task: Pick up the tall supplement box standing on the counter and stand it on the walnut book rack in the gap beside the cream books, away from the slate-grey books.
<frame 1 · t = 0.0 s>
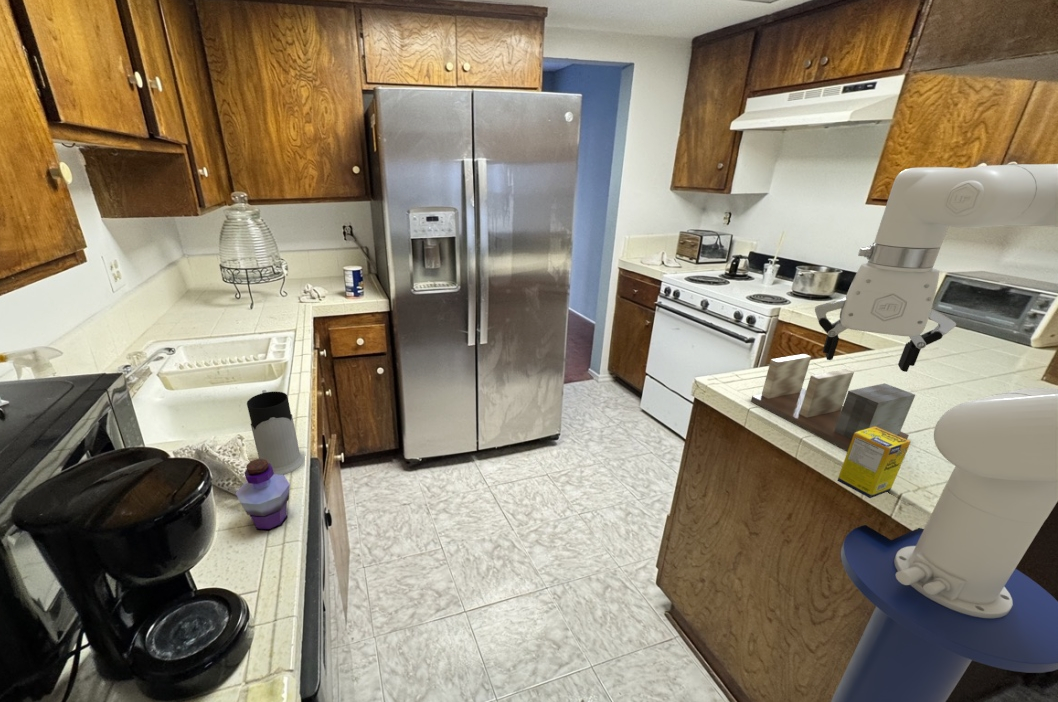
hand: (864, 362, 77), 26 cm above the counter, tool pointing down, fingers open, 9 cm apart
potion bottle: (271, 521, 82), on the counter
book rack: (822, 419, 111), on the counter
supplement box: (862, 486, 88), on the counter
glass holder: (279, 457, 100), on the counter
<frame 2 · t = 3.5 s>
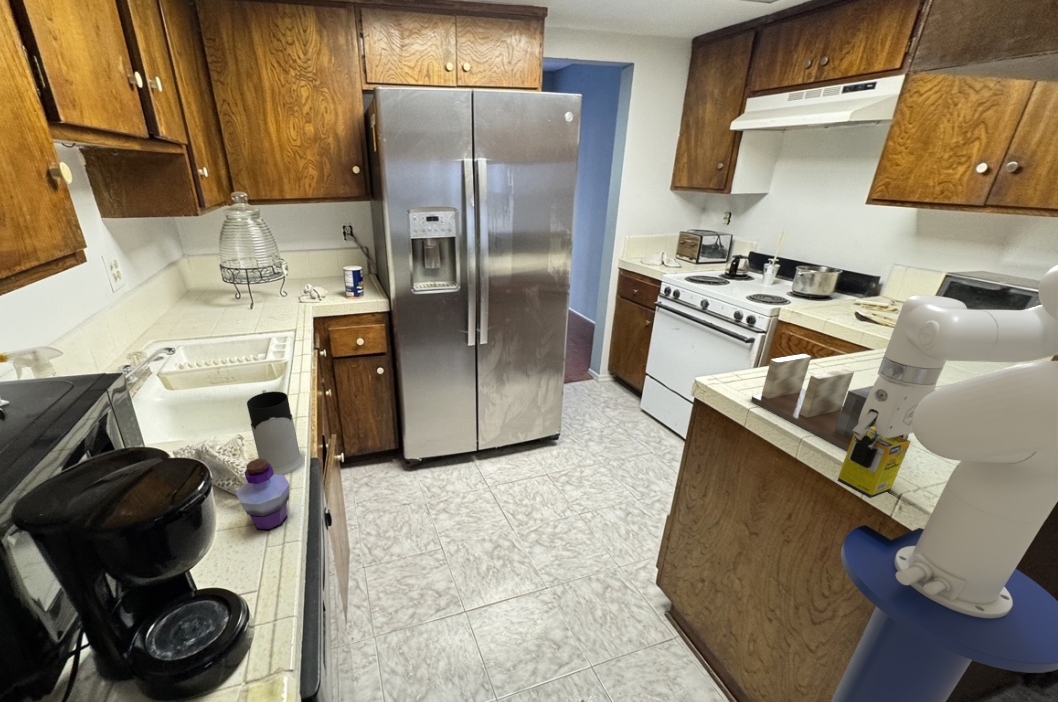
hand: (873, 459, 86), 6 cm above the counter, tool pointing down, fingers closed on supplement box, 6 cm apart
supplement box: (862, 486, 88), on the counter, touching gripper
everything else where it was.
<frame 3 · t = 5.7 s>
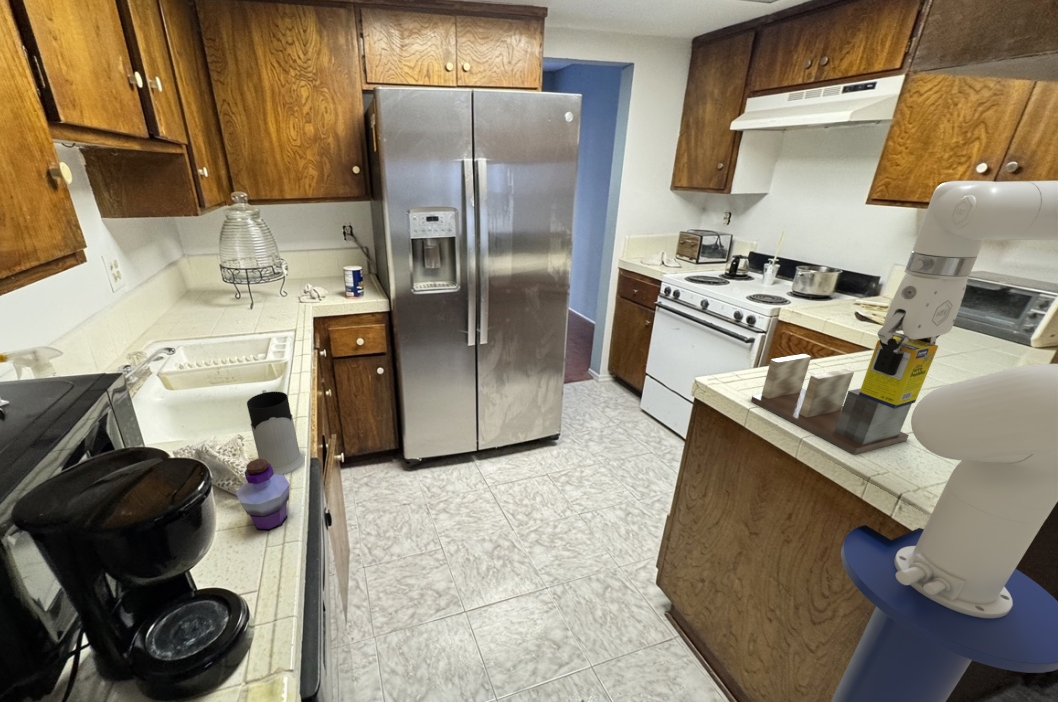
hand: (897, 368, 81), 23 cm above the counter, tool pointing down, fingers closed on supplement box, 6 cm apart
supplement box: (885, 400, 84), point 17 cm above the counter, touching gripper
everything else where it was.
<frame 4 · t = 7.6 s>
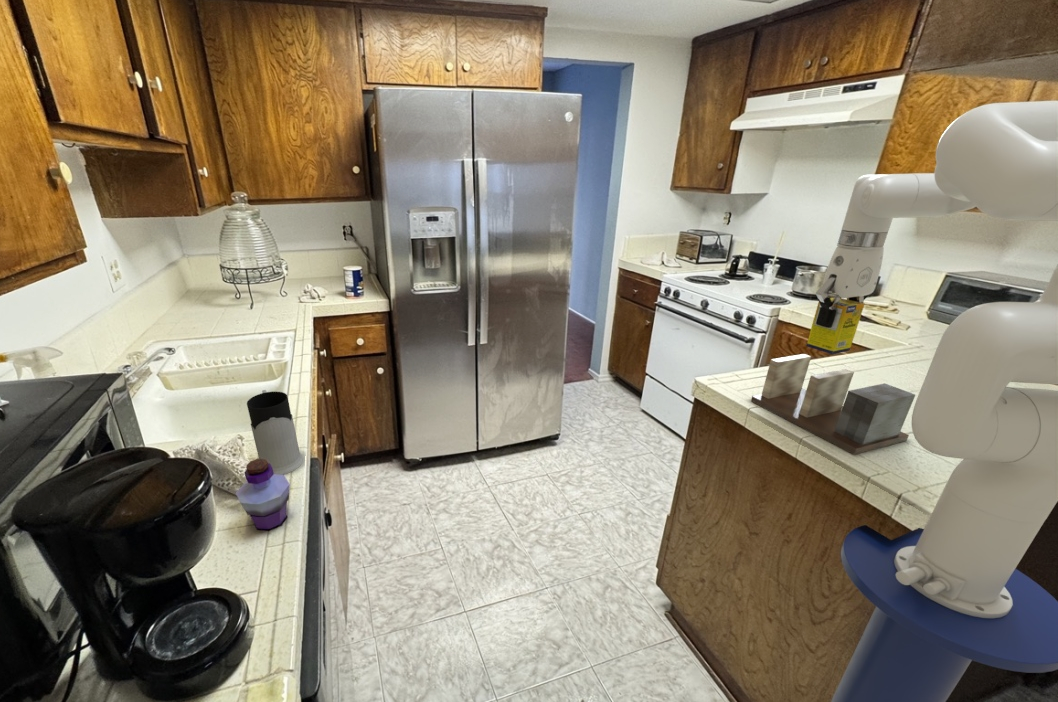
hand: (835, 323, 103), 23 cm above the counter, tool pointing down, fingers closed on supplement box, 6 cm apart
supplement box: (827, 349, 105), point 17 cm above the counter, touching gripper
everything else where it was.
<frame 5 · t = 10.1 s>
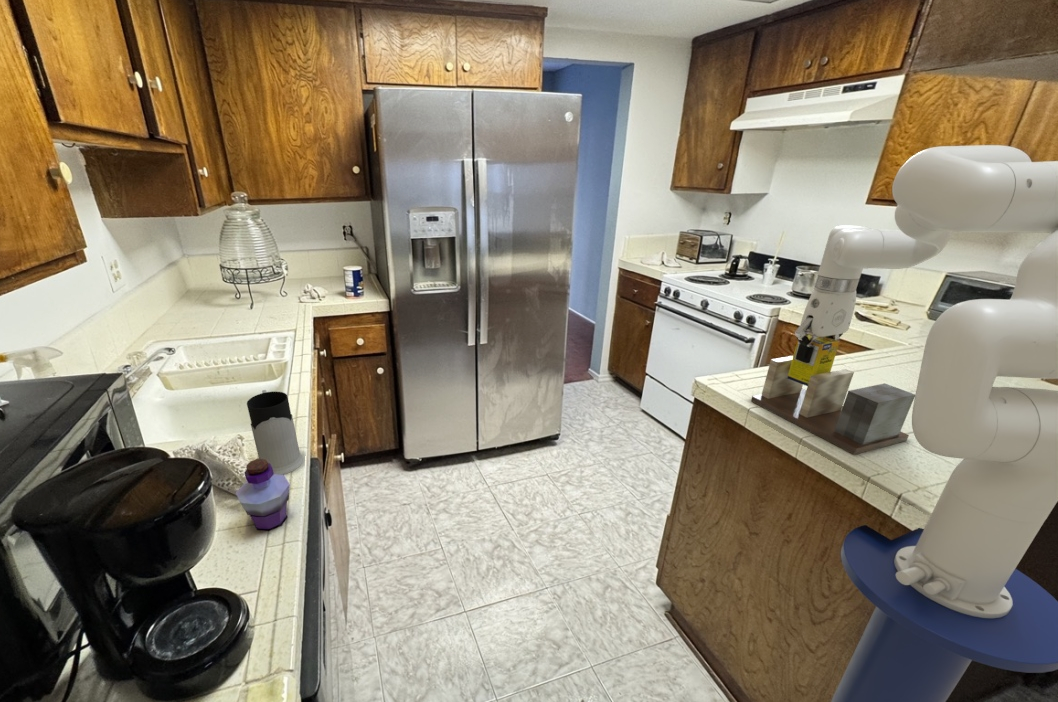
hand: (813, 358, 111), 13 cm above the counter, tool pointing down, fingers closed on supplement box, 6 cm apart
supplement box: (806, 381, 114), point 7 cm above the counter, touching gripper
everything else where it was.
when the fingers open (7 cm above the counter, at t = 12.0 s): supplement box stays where it is, resting on book rack.
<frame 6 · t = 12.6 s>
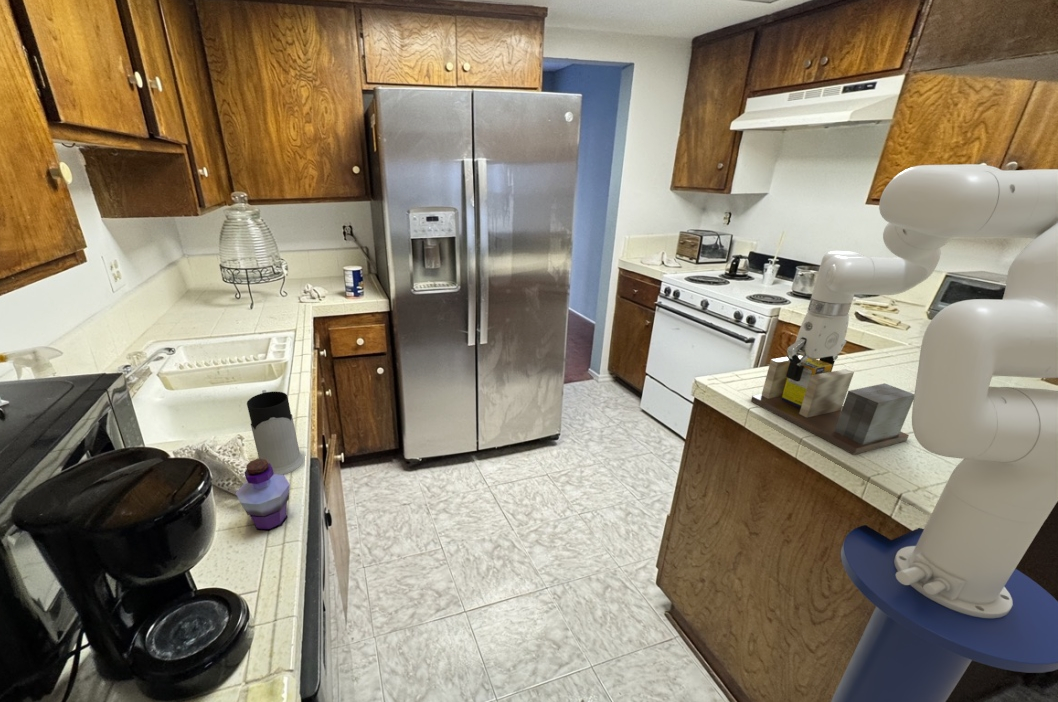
hand: (807, 376, 113), 9 cm above the counter, tool pointing down, fingers open, 9 cm apart
supplement box: (799, 403, 116), point 1 cm above the counter, touching book rack
everything else where it was.
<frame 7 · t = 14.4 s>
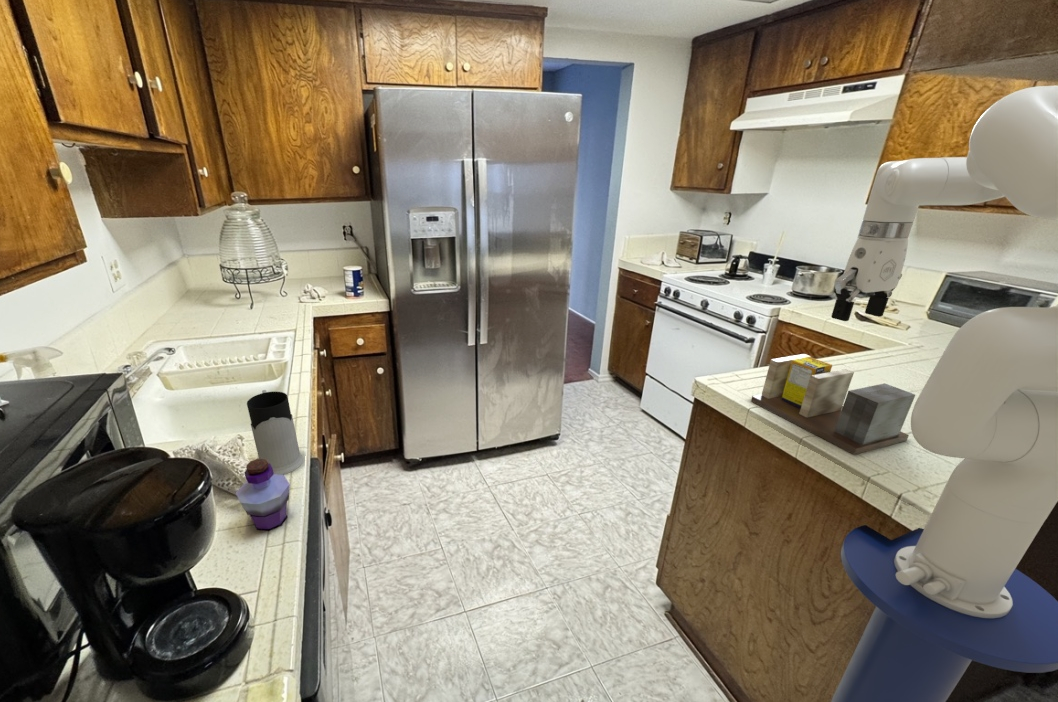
hand: (856, 317, 96), 27 cm above the counter, tool pointing down, fingers open, 9 cm apart
nothing on the counter moved.
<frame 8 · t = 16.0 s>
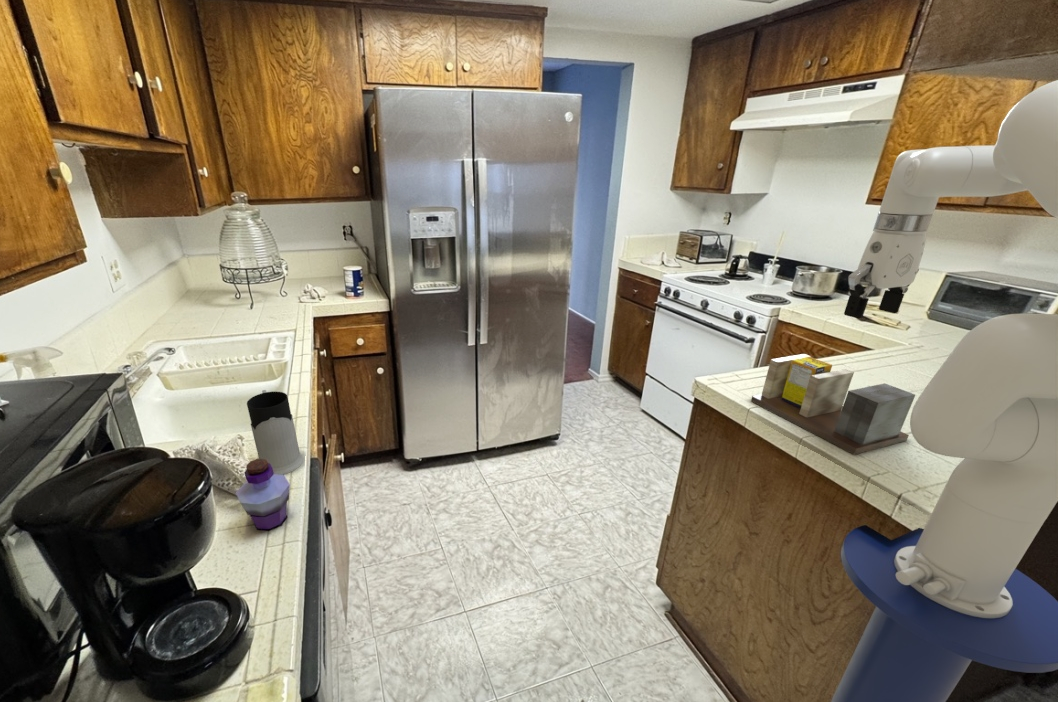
hand: (870, 314, 93), 28 cm above the counter, tool pointing down, fingers open, 9 cm apart
nothing on the counter moved.
at the end: supplement box 0.0 cm from the target spot on the book rack, point 1.3 cm above the book rack's base; supplement box tilted 0° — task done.
